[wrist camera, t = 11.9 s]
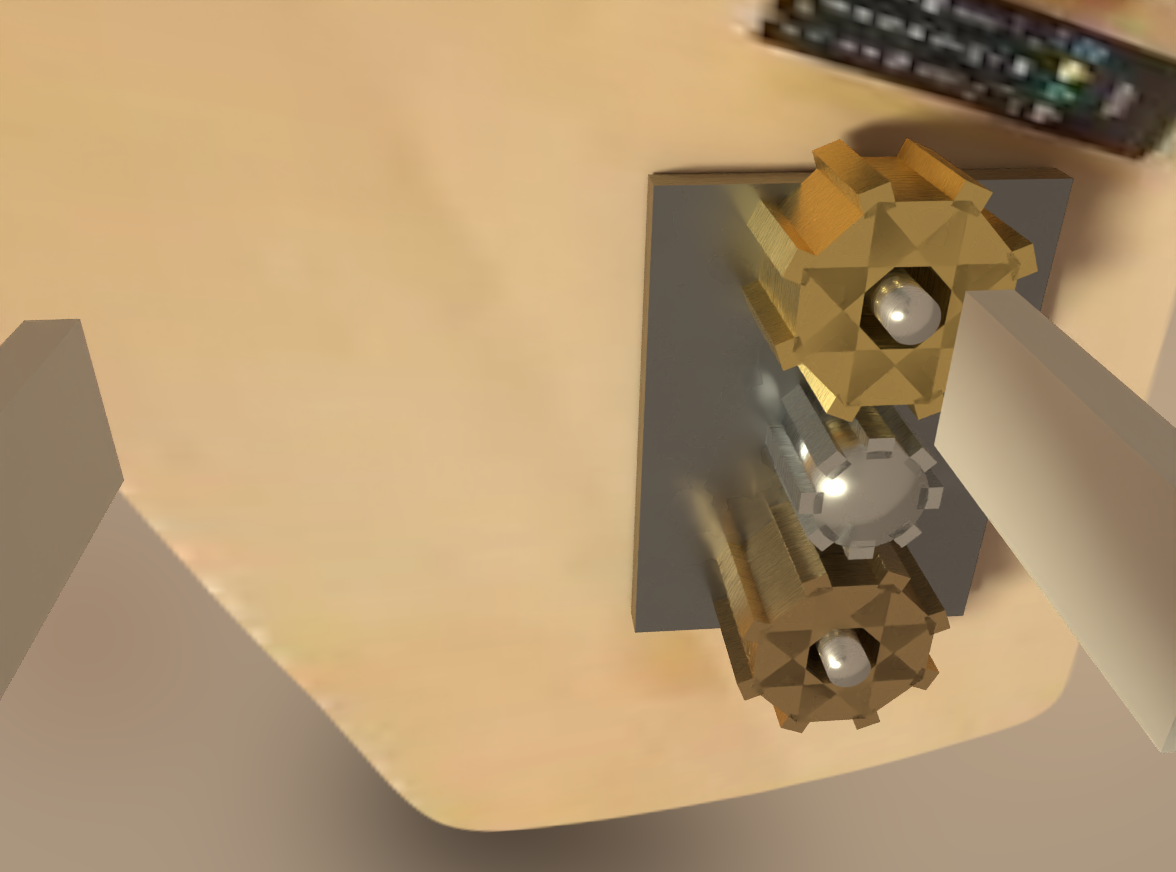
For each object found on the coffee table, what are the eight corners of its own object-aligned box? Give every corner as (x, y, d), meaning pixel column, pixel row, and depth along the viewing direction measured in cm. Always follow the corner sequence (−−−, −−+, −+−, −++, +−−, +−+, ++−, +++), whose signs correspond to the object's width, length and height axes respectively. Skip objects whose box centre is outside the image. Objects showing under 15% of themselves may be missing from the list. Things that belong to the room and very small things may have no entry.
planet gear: (754, 139, 41) (792, 183, 36) (989, 137, 42) (1060, 178, 37) (734, 360, 46) (765, 425, 41) (945, 353, 47) (1001, 417, 42)
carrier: (648, 174, 43) (681, 243, 36) (1055, 168, 44) (1168, 233, 37) (631, 612, 55) (653, 732, 48) (951, 596, 57) (1021, 710, 49)
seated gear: (721, 501, 50) (749, 578, 45) (916, 493, 51) (965, 567, 46) (708, 653, 55) (731, 737, 50) (885, 643, 56) (926, 725, 51)
